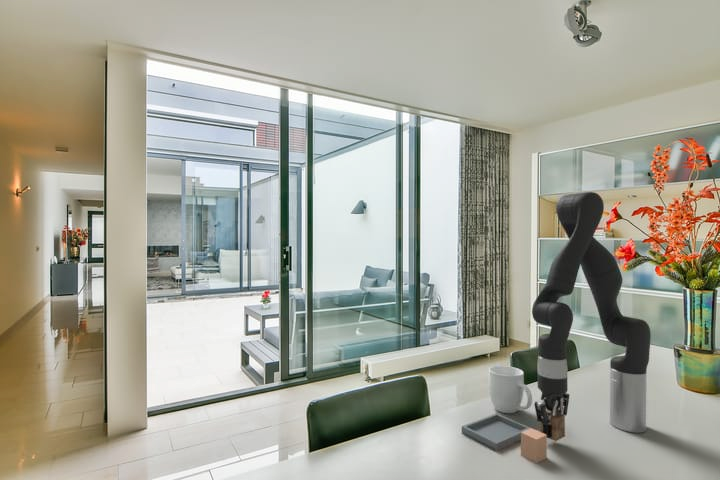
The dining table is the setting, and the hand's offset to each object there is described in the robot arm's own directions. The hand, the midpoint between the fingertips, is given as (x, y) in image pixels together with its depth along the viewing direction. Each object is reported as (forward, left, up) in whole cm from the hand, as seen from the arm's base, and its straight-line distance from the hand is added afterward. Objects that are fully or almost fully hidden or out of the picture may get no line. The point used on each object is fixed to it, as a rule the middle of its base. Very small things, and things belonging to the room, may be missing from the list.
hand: (552, 433), depth 112 cm
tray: (+8, -12, -3) cm, 15 cm away
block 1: (+10, +1, -3) cm, 11 cm away
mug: (-9, -20, -3) cm, 22 cm away
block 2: (0, 0, 0) cm, 0 cm away
